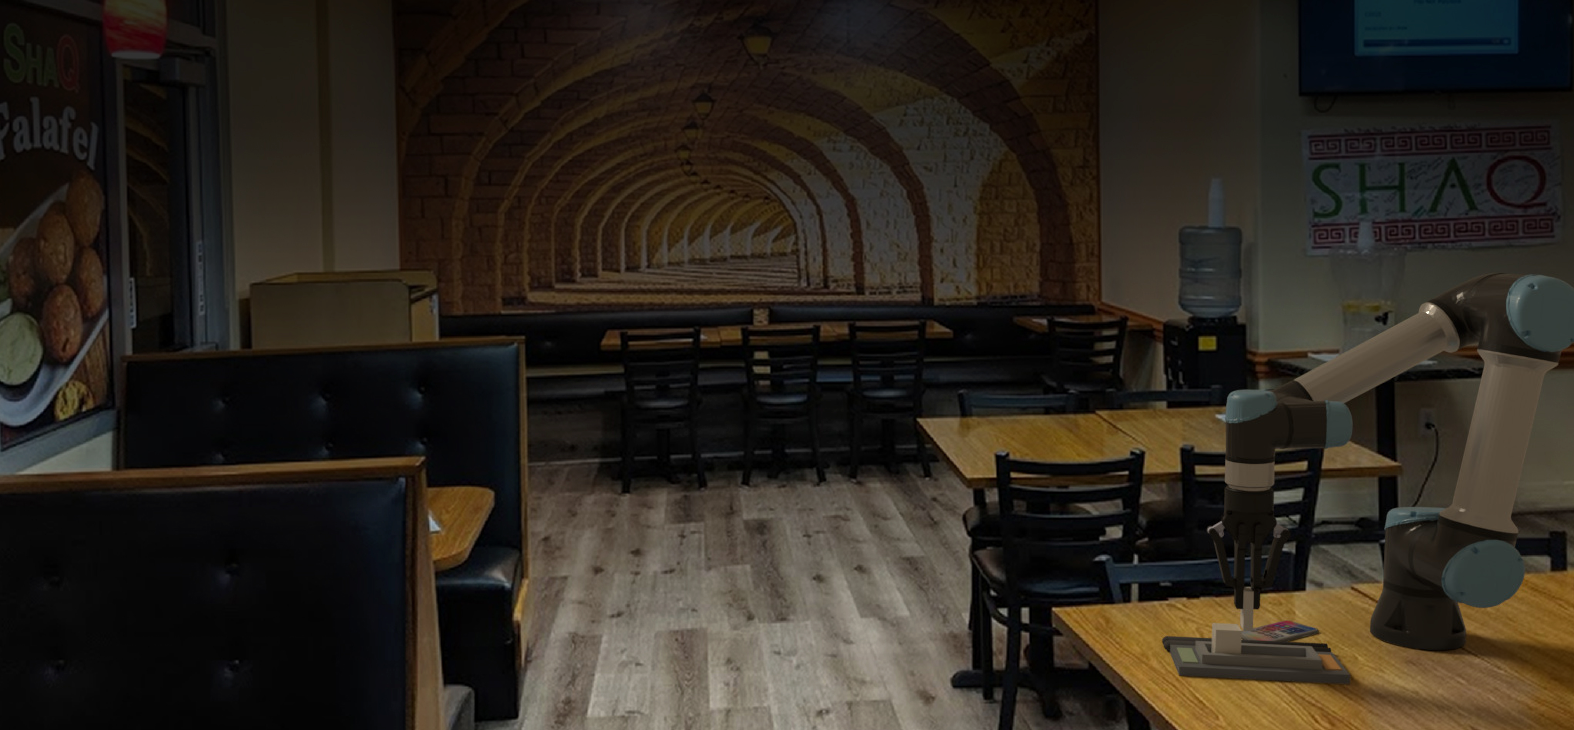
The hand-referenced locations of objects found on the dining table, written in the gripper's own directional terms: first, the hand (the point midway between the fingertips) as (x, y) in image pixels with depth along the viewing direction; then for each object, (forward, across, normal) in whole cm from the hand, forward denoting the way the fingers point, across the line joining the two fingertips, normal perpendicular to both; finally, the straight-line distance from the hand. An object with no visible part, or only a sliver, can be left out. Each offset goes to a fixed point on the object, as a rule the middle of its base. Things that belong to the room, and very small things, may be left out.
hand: (1246, 627), depth 208 cm
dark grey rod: (+7, -2, -9) cm, 11 cm away
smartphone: (+8, -9, -19) cm, 22 cm away
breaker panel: (+7, -2, 0) cm, 7 cm away
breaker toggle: (+5, +3, 0) cm, 6 cm away
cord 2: (+7, -2, -7) cm, 10 cm away
